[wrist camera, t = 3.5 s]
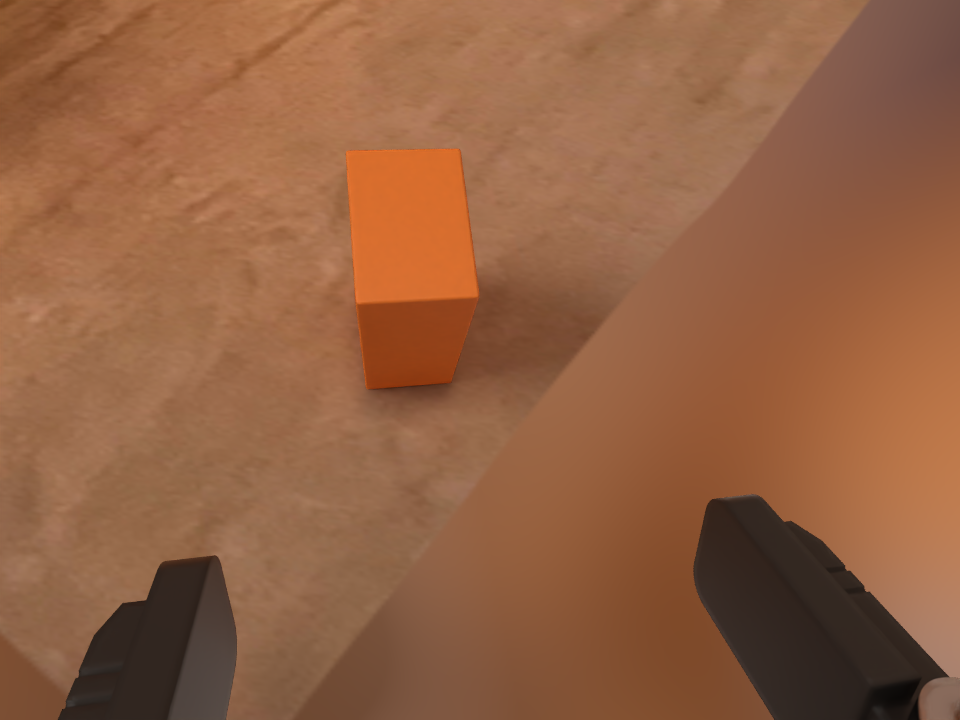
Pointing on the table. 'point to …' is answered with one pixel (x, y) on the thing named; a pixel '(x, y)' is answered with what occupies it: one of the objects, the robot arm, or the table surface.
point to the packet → (411, 263)
